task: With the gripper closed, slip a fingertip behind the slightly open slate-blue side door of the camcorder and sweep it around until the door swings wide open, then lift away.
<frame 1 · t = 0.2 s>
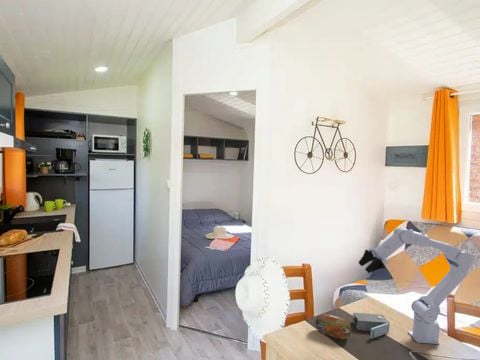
hand: (363, 267, 128), 30 cm above the table, tool tilted 45°, fingers open, 7 cm apart
camcorder: (370, 326, 136), on the table
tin: (332, 335, 129), on the table
side door: (380, 331, 129), point 2 cm above the table, hinge at 30.0°
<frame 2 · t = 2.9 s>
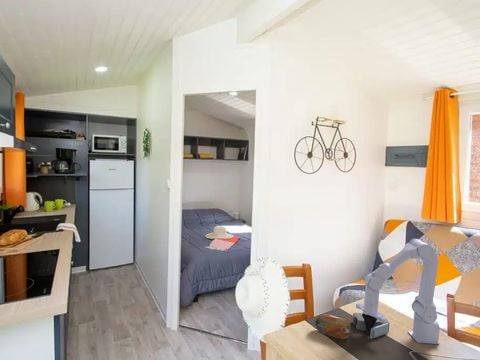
hand: (369, 330, 131), 1 cm above the table, tool pointing down, fingers closed
nothing on the table moved.
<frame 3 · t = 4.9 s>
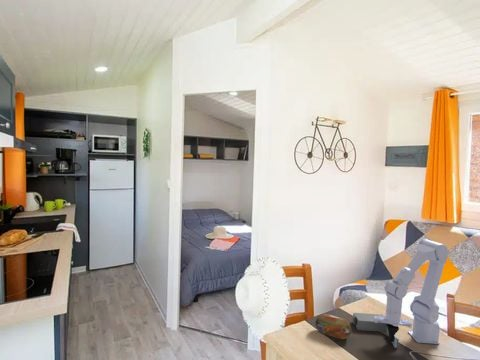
hand: (390, 340, 124), 1 cm above the table, tool pointing down, fingers closed, pressing on side door
side door: (392, 335, 127), point 2 cm above the table, hinge at 82.0°, touching gripper
everything else where it was.
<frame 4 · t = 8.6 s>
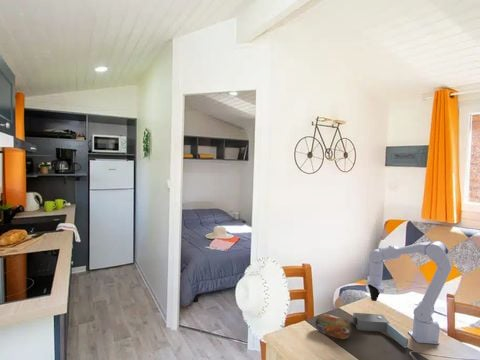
hand: (373, 300, 143), 9 cm above the table, tool pointing down, fingers closed
side door: (396, 335, 127), point 2 cm above the table, hinge at 104.1°
everything else where it was.
at the end: side door at +104° (first picture: +30°); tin moved 0.3 cm from its start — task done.
